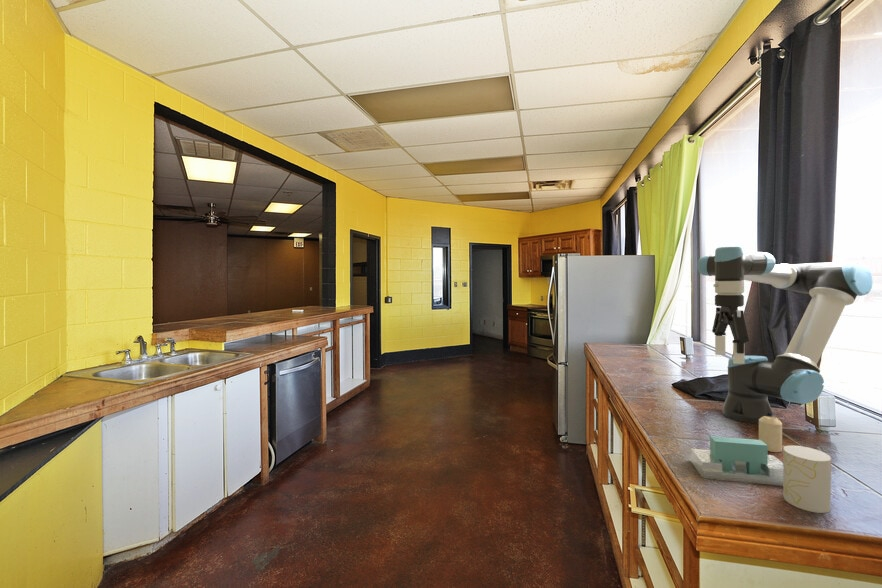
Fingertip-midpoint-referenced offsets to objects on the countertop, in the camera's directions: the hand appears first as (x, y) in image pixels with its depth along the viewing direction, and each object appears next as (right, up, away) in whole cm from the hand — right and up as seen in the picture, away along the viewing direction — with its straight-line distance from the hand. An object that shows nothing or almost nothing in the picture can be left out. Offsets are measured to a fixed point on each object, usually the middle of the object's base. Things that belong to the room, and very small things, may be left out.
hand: (729, 359), depth 125 cm
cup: (-7, -29, -34) cm, 45 cm away
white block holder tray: (-13, -28, -20) cm, 37 cm away
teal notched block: (-13, -27, -20) cm, 36 cm away
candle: (+8, -27, -6) cm, 29 cm away
